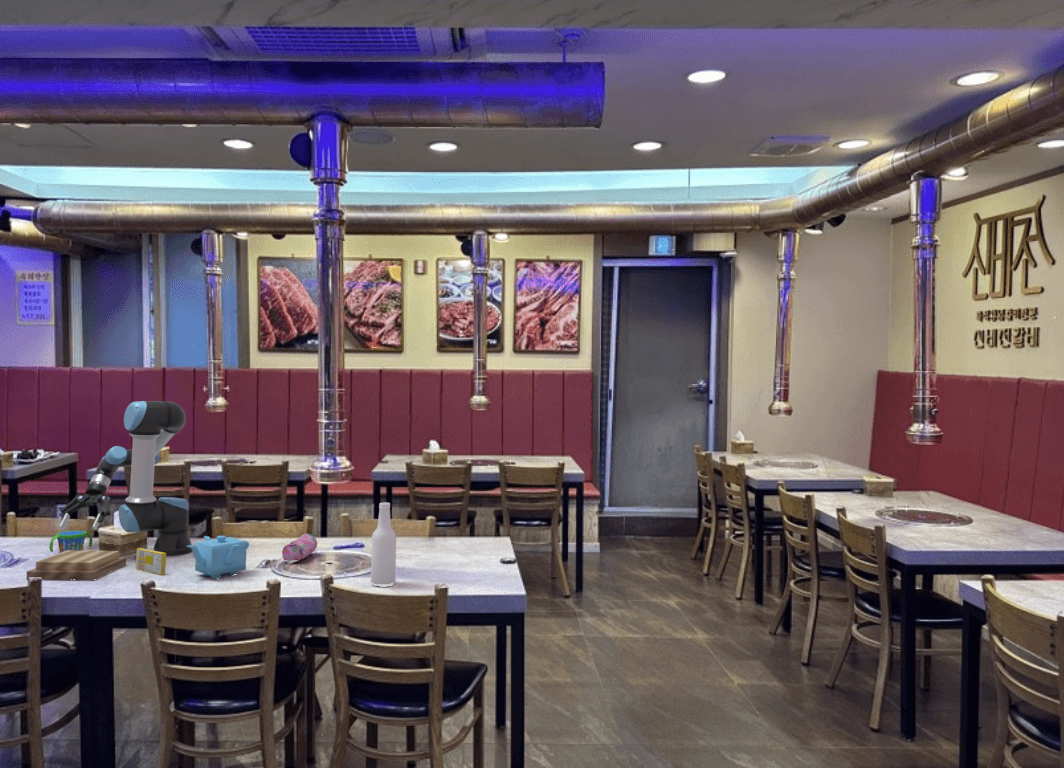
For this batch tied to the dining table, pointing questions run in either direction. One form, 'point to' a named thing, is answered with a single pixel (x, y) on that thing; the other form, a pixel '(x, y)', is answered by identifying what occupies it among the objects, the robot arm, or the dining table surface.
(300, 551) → the pencil case
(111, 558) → the walnut stand
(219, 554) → the teakettle
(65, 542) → the snack cup
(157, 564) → the candy box
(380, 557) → the alcohol
